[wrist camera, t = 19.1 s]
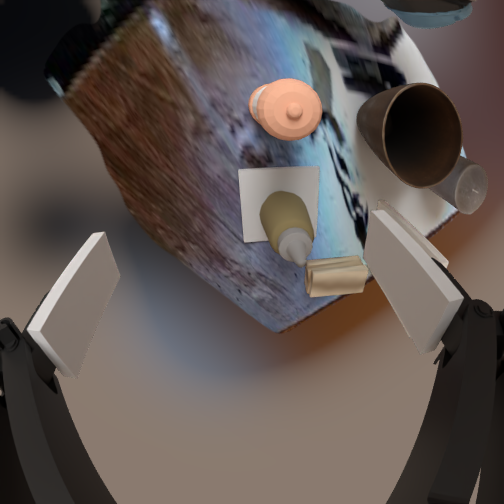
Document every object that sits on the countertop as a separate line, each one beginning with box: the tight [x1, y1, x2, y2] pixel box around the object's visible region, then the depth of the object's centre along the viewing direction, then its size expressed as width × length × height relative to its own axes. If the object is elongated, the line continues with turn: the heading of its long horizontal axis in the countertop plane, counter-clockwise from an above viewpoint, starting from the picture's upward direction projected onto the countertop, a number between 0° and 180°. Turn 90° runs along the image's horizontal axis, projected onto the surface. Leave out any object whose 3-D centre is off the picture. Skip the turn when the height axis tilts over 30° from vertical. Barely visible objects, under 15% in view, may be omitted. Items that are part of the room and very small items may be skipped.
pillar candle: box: [429, 156, 488, 214], centre depth 39 cm, size 10×10×15 cm
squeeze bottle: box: [259, 191, 314, 268], centre depth 41 cm, size 8×8×18 cm
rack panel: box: [367, 200, 449, 338], centre depth 44 cm, size 16×2×22 cm, turn 3°
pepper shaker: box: [248, 78, 322, 141], centre depth 31 cm, size 7×7×19 cm
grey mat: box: [238, 166, 320, 242], centre depth 49 cm, size 14×14×1 cm
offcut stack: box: [304, 256, 369, 297], centre depth 56 cm, size 7×13×5 cm, turn 93°
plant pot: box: [357, 83, 463, 188], centre depth 34 cm, size 15×15×16 cm
